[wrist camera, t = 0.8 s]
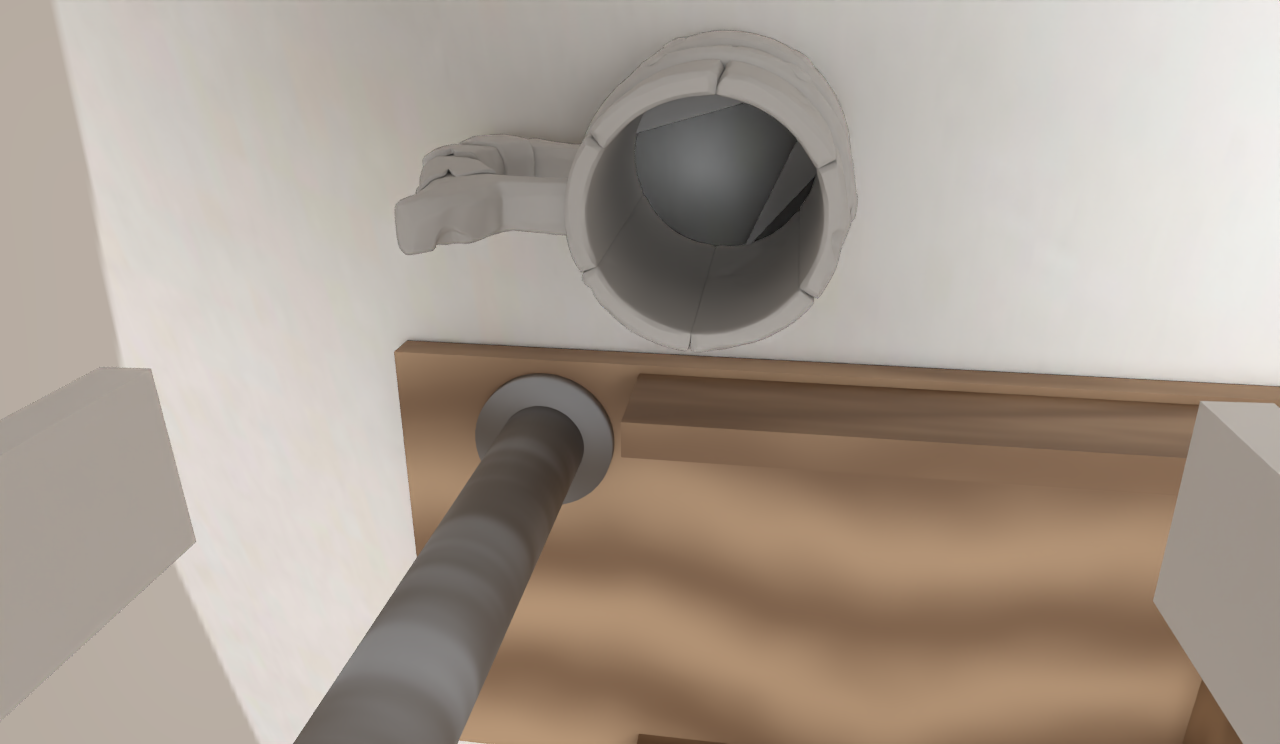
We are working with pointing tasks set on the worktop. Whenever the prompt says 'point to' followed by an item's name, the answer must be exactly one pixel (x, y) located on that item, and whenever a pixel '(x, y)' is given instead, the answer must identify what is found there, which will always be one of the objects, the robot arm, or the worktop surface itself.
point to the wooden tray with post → (778, 556)
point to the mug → (622, 216)
